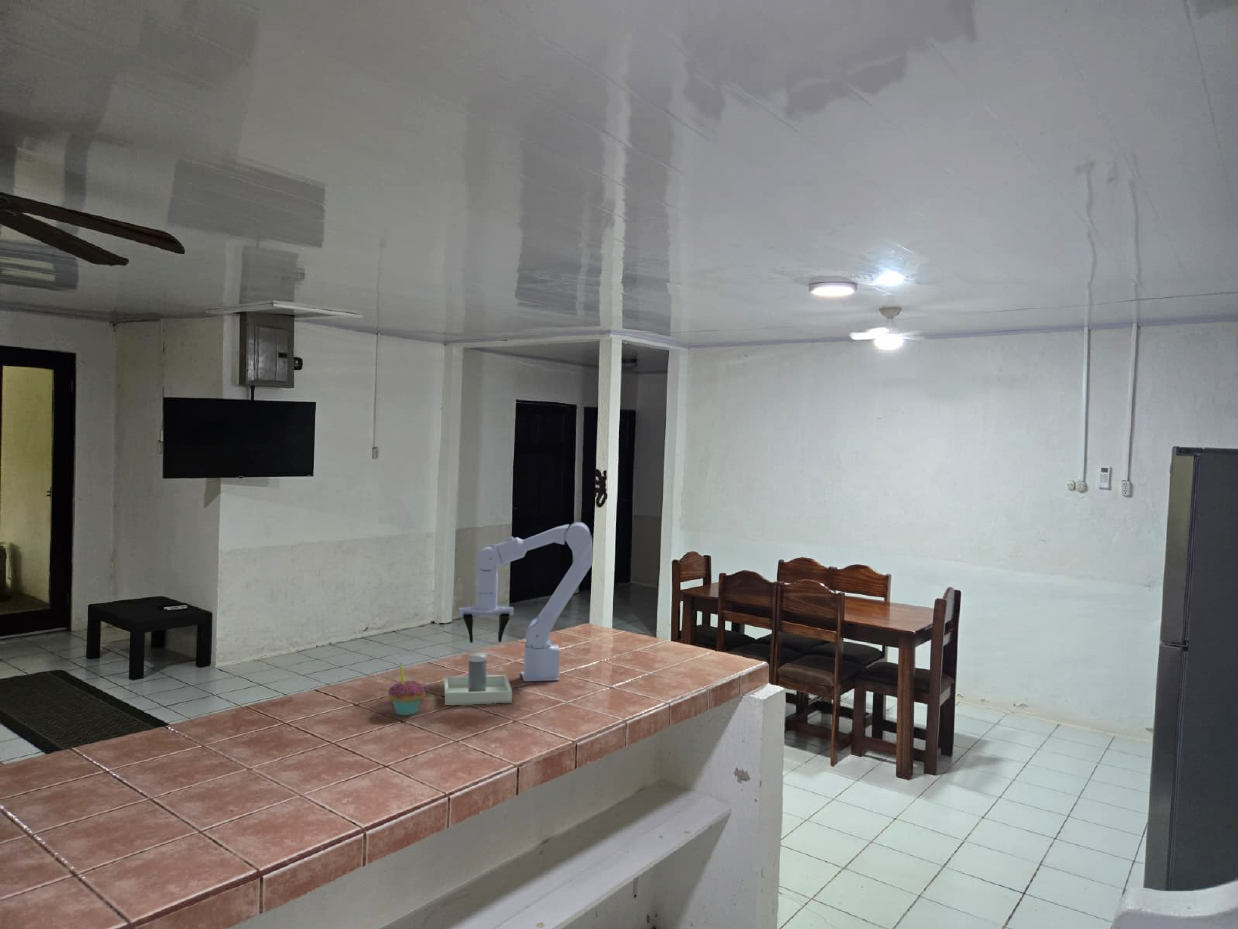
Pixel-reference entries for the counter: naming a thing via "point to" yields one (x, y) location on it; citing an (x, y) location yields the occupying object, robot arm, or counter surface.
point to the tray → (494, 693)
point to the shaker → (477, 672)
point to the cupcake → (406, 695)
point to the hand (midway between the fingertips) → (485, 641)
